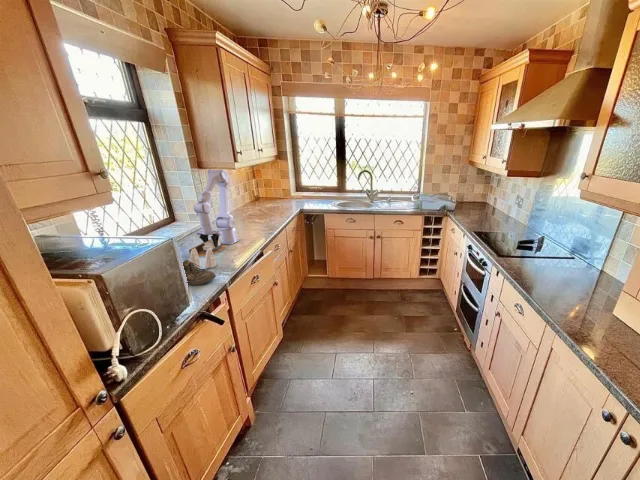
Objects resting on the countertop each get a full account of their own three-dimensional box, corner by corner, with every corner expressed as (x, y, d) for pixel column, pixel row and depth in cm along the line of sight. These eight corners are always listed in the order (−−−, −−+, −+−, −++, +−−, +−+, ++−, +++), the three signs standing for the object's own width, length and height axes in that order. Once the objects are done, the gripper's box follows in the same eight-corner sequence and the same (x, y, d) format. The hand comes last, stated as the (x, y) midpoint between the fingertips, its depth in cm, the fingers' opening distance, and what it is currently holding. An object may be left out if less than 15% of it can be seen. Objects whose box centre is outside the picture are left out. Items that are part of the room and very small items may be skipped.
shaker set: (191, 272, 153) (184, 251, 148) (190, 269, 156) (183, 249, 151) (217, 267, 159) (212, 246, 154) (216, 264, 162) (210, 244, 157)
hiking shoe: (207, 282, 136) (206, 256, 137) (163, 287, 137) (162, 260, 138) (220, 284, 145) (219, 259, 146) (178, 288, 147) (177, 263, 148)
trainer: (214, 246, 188) (212, 238, 186) (221, 246, 188) (220, 238, 186) (203, 251, 178) (201, 244, 176) (211, 252, 178) (209, 244, 176)
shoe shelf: (210, 245, 193) (209, 239, 191) (229, 245, 192) (227, 239, 190) (190, 256, 175) (188, 249, 173) (210, 256, 174) (209, 250, 172)
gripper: (189, 225, 173) (196, 248, 179) (214, 225, 172) (220, 249, 178) (197, 222, 180) (203, 244, 185) (221, 222, 179) (226, 245, 185)
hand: (212, 246), depth 182 cm, fingers closed on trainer, 4 cm apart
